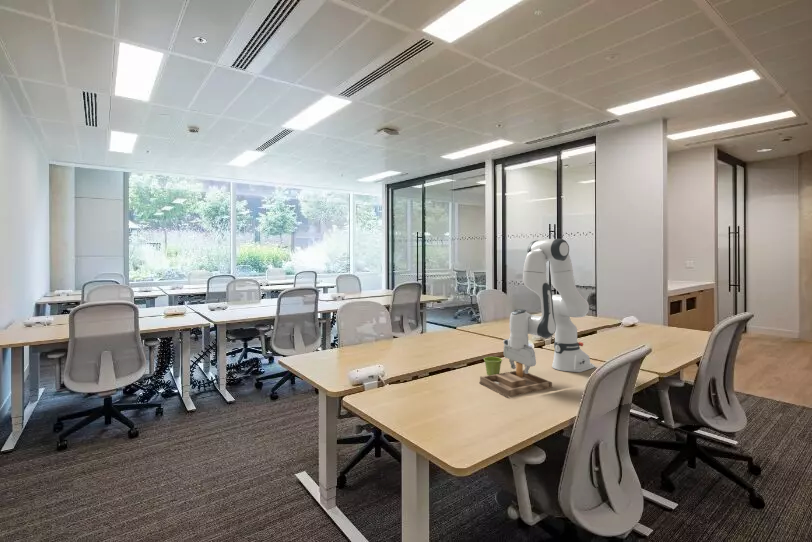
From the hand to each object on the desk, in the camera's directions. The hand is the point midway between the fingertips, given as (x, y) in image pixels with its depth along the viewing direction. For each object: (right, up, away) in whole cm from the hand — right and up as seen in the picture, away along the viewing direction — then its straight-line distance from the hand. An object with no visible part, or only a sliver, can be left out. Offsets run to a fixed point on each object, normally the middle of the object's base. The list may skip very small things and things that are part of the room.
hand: (519, 370), depth 196 cm
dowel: (0, -4, 0) cm, 4 cm away
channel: (-4, -5, -8) cm, 11 cm away
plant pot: (-11, -5, +8) cm, 15 cm away
